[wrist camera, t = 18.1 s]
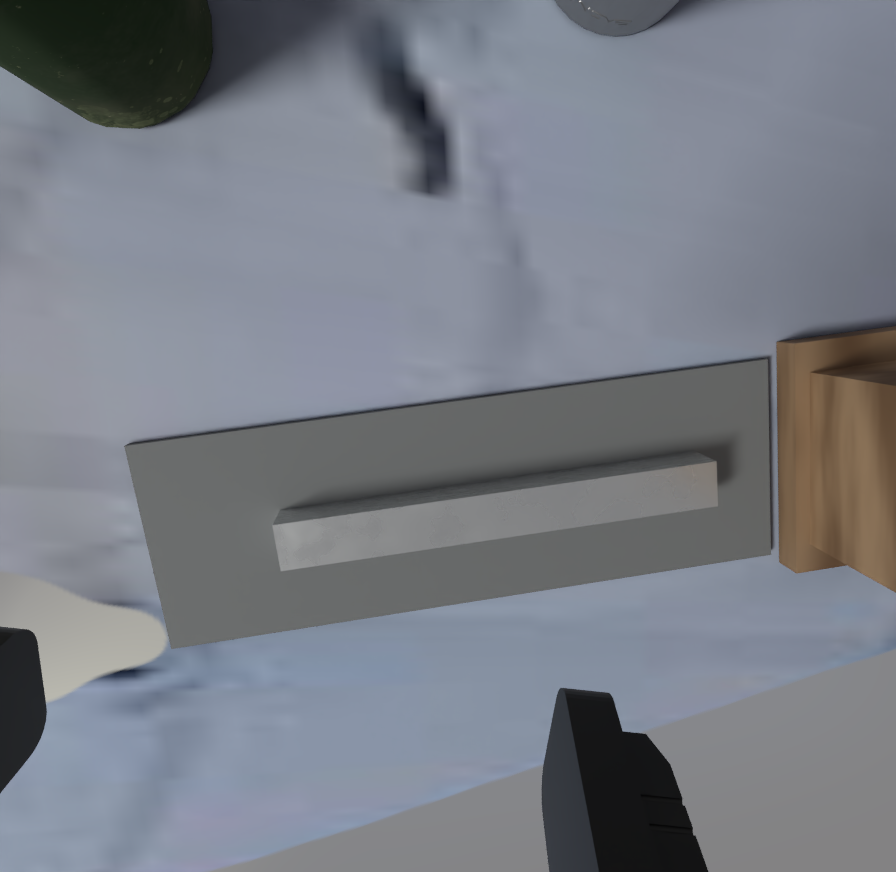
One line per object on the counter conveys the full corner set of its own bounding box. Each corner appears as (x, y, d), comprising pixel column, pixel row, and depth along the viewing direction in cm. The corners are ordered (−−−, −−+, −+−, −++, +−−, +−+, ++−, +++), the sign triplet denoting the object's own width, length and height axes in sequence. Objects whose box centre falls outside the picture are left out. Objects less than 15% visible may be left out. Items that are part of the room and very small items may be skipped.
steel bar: (287, 552, 42) (280, 571, 40) (280, 509, 42) (272, 525, 39) (695, 492, 44) (718, 506, 42) (694, 451, 44) (716, 461, 41)
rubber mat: (174, 644, 44) (171, 648, 43) (128, 444, 41) (124, 446, 40) (766, 551, 47) (770, 554, 46) (762, 358, 44) (767, 359, 43)
